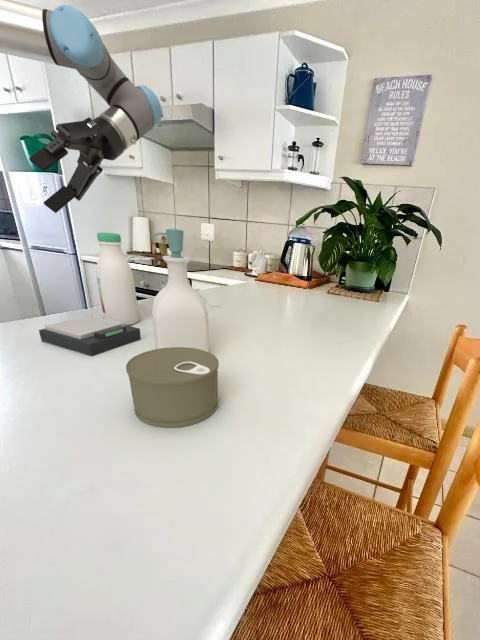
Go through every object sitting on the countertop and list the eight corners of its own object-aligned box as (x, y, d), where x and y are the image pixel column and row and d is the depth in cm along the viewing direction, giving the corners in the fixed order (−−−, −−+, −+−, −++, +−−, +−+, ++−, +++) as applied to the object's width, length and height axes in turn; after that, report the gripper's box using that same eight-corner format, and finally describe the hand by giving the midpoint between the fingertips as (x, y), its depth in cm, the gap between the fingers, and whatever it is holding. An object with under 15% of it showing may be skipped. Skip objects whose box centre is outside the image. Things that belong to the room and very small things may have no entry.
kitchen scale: (41, 341, 65) (37, 325, 63) (94, 327, 75) (91, 312, 73) (91, 356, 60) (88, 339, 59) (141, 338, 70) (139, 323, 69)
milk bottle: (146, 320, 82) (135, 234, 73) (125, 328, 76) (110, 235, 67) (119, 316, 84) (106, 231, 75) (97, 323, 77) (79, 231, 68)
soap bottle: (158, 346, 67) (145, 225, 57) (205, 345, 70) (201, 229, 60) (157, 365, 59) (141, 227, 49) (210, 362, 62) (206, 232, 52)
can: (172, 380, 54) (169, 341, 51) (234, 397, 51) (234, 357, 47) (113, 413, 44) (104, 367, 41) (184, 438, 40) (180, 390, 37)
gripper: (127, 101, 65) (50, 159, 58) (124, 183, 87) (68, 233, 79) (92, 68, 63) (7, 124, 55) (98, 161, 85) (38, 210, 77)
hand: (43, 188), depth 67 cm, fingers open, 13 cm apart
